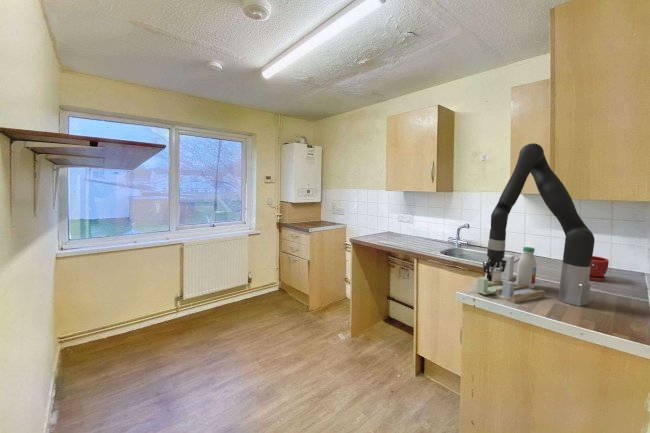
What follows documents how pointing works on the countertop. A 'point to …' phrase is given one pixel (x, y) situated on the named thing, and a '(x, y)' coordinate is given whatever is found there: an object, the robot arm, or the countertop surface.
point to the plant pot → (598, 268)
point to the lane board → (517, 297)
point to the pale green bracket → (486, 286)
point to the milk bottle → (526, 268)
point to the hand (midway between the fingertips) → (493, 280)
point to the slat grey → (512, 289)
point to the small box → (508, 267)
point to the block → (495, 276)
